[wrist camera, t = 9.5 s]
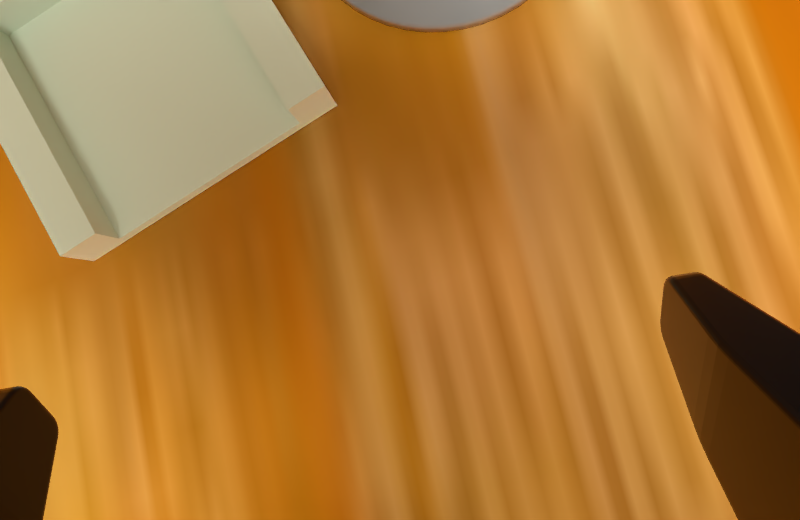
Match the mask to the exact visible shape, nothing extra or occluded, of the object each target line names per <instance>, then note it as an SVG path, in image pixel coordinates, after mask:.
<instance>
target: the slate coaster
mask: <svg viewBox="0 0 800 520" xmlns="http://www.w3.org/2000/svg"><path fill="white" fill-rule="evenodd" d="M342 1H343V2H345V3H346V4H347V5H349V6H350V7H351V8H352V9H354V10H356V11H357V12H359V13H361V14H363V15H364V16H366V17H368V18H370V19H372V20H375V21H377V22H380V23H382V24H385V25H388V26H392V27H396V28H400V29H404V30H410V31H419V32H447V31H454V30H461V29H466V28H470V27H473V26H477V25H481V24H484V23H486V22H489V21H491V20H494V19H496V18H499V17H501V16H503V15H505V14H507V13H508V12H510V11H512V10H514V9H516V8H517V7H519V6H520V5H522V4H523V3H524V2H526V1H527V0H342Z"/></svg>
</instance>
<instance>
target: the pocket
mask: <svg viewBox="0 0 800 520" xmlns="http://www.w3.org/2000/svg"><path fill="white" fill-rule="evenodd" d="M336 106H337V104H336V103H335V101H334V99H333V98H332V96H331V95H330V93H329V91H328V90H327V88H326V87H325V85H324V83H323V82H322V80H321V79H320V77H319V75H318V74H317V72H316V71H315V69H314V67H313V66H312V64H311V62H310V61H309V59H308V58H307V56H306V54H305V53H304V51H303V50H302V48H301V46H300V45H299V43H298V42H297V40H296V38H295V37H294V35H293V34H292V32H291V30H290V29H289V27H288V26H287V24H286V22H285V21H284V19H283V18H282V16H281V14H280V13H279V11H278V10H277V8H276V6H275V5H274V3H273V2H272V0H0V144H1V146H2V147H3V149H4V151H5V153H6V155H7V157H8V159H9V161H10V163H11V164H12V166H13V168H14V170H15V172H16V174H17V176H18V178H19V180H20V182H21V183H22V185H23V187H24V189H25V191H26V193H27V195H28V197H29V199H30V200H31V202H32V204H33V206H34V208H35V210H36V212H37V214H38V216H39V217H40V219H41V221H42V223H43V225H44V227H45V229H46V231H47V233H48V234H49V236H50V238H51V240H52V242H53V244H54V246H55V248H56V250H57V252H58V253H59V255H60V256H62V257H69V258H76V259H83V260H89V261H95V260H97V259H98V258H100V257H102V256H103V255H105V254H106V253H108V252H109V251H111V250H113V249H114V248H116V247H117V246H119V245H120V244H122V243H123V242H125V241H127V240H128V239H130V238H131V237H133V236H134V235H136V234H137V233H139V232H141V231H142V230H144V229H145V228H147V227H148V226H150V225H152V224H153V223H155V222H156V221H158V220H159V219H161V218H162V217H164V216H166V215H167V214H169V213H170V212H172V211H173V210H175V209H177V208H178V207H180V206H181V205H183V204H184V203H186V202H187V201H189V200H191V199H192V198H194V197H195V196H197V195H198V194H200V193H201V192H203V191H205V190H206V189H208V188H209V187H211V186H212V185H214V184H216V183H217V182H219V181H220V180H222V179H223V178H225V177H226V176H228V175H230V174H231V173H233V172H234V171H236V170H237V169H239V168H241V167H242V166H244V165H245V164H247V163H248V162H250V161H251V160H253V159H255V158H256V157H258V156H259V155H261V154H262V153H264V152H265V151H267V150H269V149H270V148H272V147H273V146H275V145H276V144H278V143H280V142H281V141H283V140H284V139H286V138H287V137H289V136H290V135H292V134H294V133H295V132H297V131H298V130H300V129H301V128H303V127H304V126H306V125H308V124H309V123H311V122H312V121H314V120H315V119H317V118H319V117H320V116H322V115H323V114H325V113H326V112H328V111H329V110H331V109H333V108H334V107H336Z"/></svg>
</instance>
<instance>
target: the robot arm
mask: <svg viewBox="0 0 800 520" xmlns="http://www.w3.org/2000/svg"><path fill="white" fill-rule="evenodd" d="M660 324H661V332H662V336H663V339H664V342H665V345H666V348H667V350H668V353H669V356H670V359H671V362H672V365H673V367H674V370H675V373H676V376H677V379H678V382H679V384H680V387H681V390H682V393H683V396H684V399H685V401H686V404H687V407H688V410H689V413H690V416H691V418H692V421H693V424H694V427H695V429H696V432H697V435H698V437H699V440H700V442H701V444H702V447H703V449H704V451H705V453H706V455H707V458H708V460H709V462H710V464H711V466H712V468H713V470H714V472H715V474H716V476H717V478H718V480H719V482H720V484H721V486H722V488H723V490H724V492H725V494H726V496H727V498H728V500H729V502H730V504H731V506H732V508H733V510H734V512H735V514H736V516H737V518H738V520H800V333H798V332H796V331H795V330H793V329H791V328H790V327H788V326H787V325H785V324H783V323H782V322H780V321H779V320H777V319H775V318H774V317H772V316H770V315H769V314H767V313H766V312H764V311H762V310H761V309H759V308H758V307H756V306H754V305H753V304H751V303H749V302H748V301H746V300H745V299H743V298H741V297H740V296H738V295H736V294H735V293H733V292H732V291H730V290H728V289H727V288H725V287H724V286H722V285H720V284H719V283H717V282H715V281H714V280H712V279H711V278H709V277H707V276H706V275H704V274H702V273H699V272H693V273H687V274H681V275H675V276H671V277H669V278H667V279H666V281H665V283H664V289H663V299H662V309H661V319H660ZM57 439H58V426H57V422H56V420H55V418H54V417H53V416H52V415H51V414H50V412H49V411H48V410H47V409H46V408H45V407H44V406H43V405H42V404H41V403H40V401H39V400H38V399H37V398H36V397H35V396H34V395H33V394H32V393H31V392H30V391H29V390H28V389H26V388H24V387H19V386H17V387H11V388H5V389H0V520H43V516H44V510H45V505H46V499H47V494H48V488H49V483H50V477H51V472H52V466H53V461H54V455H55V450H56V444H57Z"/></svg>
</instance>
